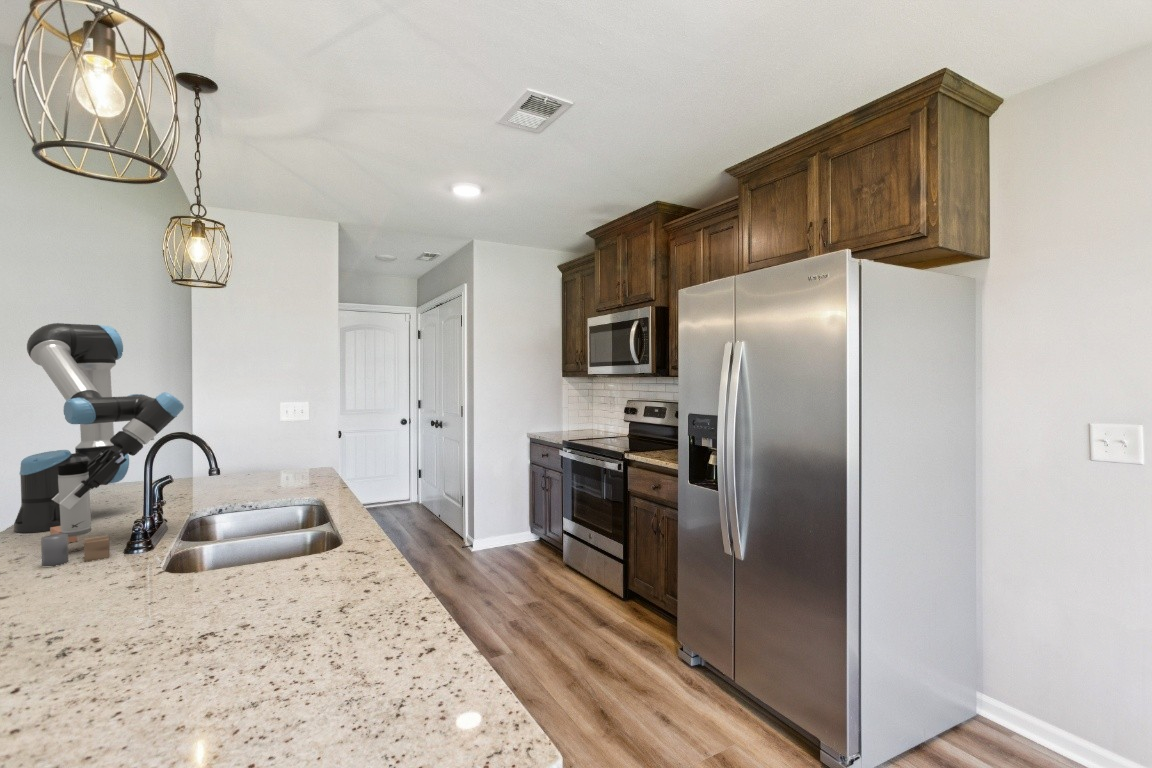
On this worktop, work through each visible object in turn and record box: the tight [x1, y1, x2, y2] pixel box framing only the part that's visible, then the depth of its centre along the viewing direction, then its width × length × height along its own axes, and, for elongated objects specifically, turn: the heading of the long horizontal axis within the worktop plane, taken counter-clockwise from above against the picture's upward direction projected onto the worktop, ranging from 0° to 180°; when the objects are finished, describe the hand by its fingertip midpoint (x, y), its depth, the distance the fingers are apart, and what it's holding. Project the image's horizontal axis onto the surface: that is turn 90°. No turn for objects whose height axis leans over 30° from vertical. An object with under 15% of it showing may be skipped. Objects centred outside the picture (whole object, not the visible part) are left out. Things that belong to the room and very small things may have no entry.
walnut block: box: [83, 534, 111, 563], centre depth 149 cm, size 5×5×5 cm
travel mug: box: [58, 461, 92, 537], centre depth 155 cm, size 6×7×20 cm
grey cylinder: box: [40, 534, 69, 567], centre depth 145 cm, size 5×5×7 cm
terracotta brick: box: [49, 526, 78, 544], centre depth 164 cm, size 8×4×4 cm, turn 55°
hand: (60, 504), depth 152 cm, fingers closed on travel mug, 6 cm apart
